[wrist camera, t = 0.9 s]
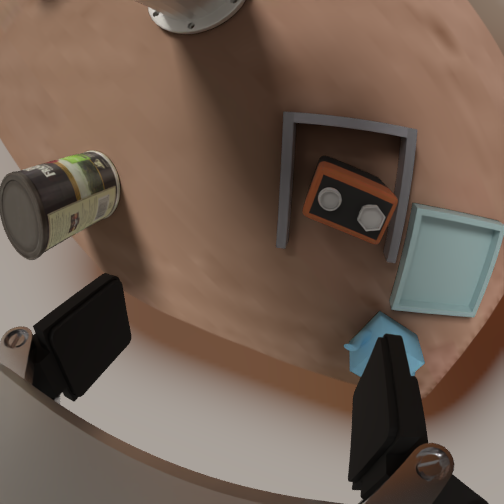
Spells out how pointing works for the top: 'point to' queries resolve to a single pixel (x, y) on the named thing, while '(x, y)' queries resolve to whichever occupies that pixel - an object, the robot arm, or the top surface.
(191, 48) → the top surface
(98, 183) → the coffee can
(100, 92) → the top surface
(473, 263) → the tray
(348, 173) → the battery
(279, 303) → the top surface
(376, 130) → the frame
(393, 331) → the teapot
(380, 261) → the top surface
